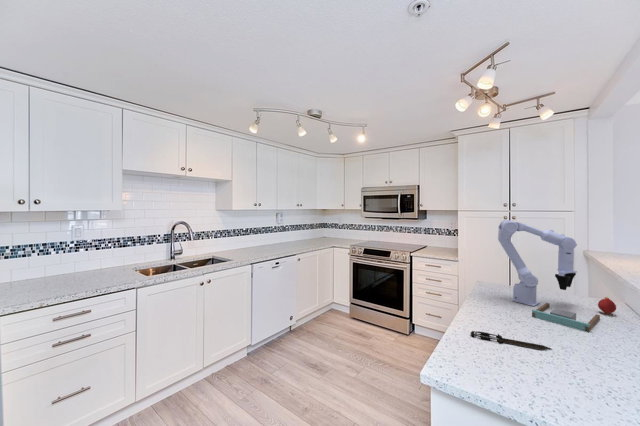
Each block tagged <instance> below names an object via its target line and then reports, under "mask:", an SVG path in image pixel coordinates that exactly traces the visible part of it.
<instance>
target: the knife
mask: <svg viewBox="0 0 640 426" xmlns="http://www.w3.org/2000/svg"><path fill="white" fill-rule="evenodd" d="M477 333H478V334H480V335H478V334H477ZM470 336H471V338H475V337H479V338H480V339H479V340H481V341H487V342H491V340H495V341H496V343H498V344H499V345H501V344H509V345H514V346H520V347H525V348H529V349H535V350H540V351H543V350H553V348H550V347H548V346H546V345H543V344H539V343H538V344H537V343H532V342H526V341H522V340H521V341H520V340H517V339H511V338H510V339H509V338H504V337H502V335H501V334H499V333H497V335H496V334H492V333H489V332H484V331H473V330H472V331H470ZM490 336H494V337H495V338H493V337H490Z"/></svg>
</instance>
